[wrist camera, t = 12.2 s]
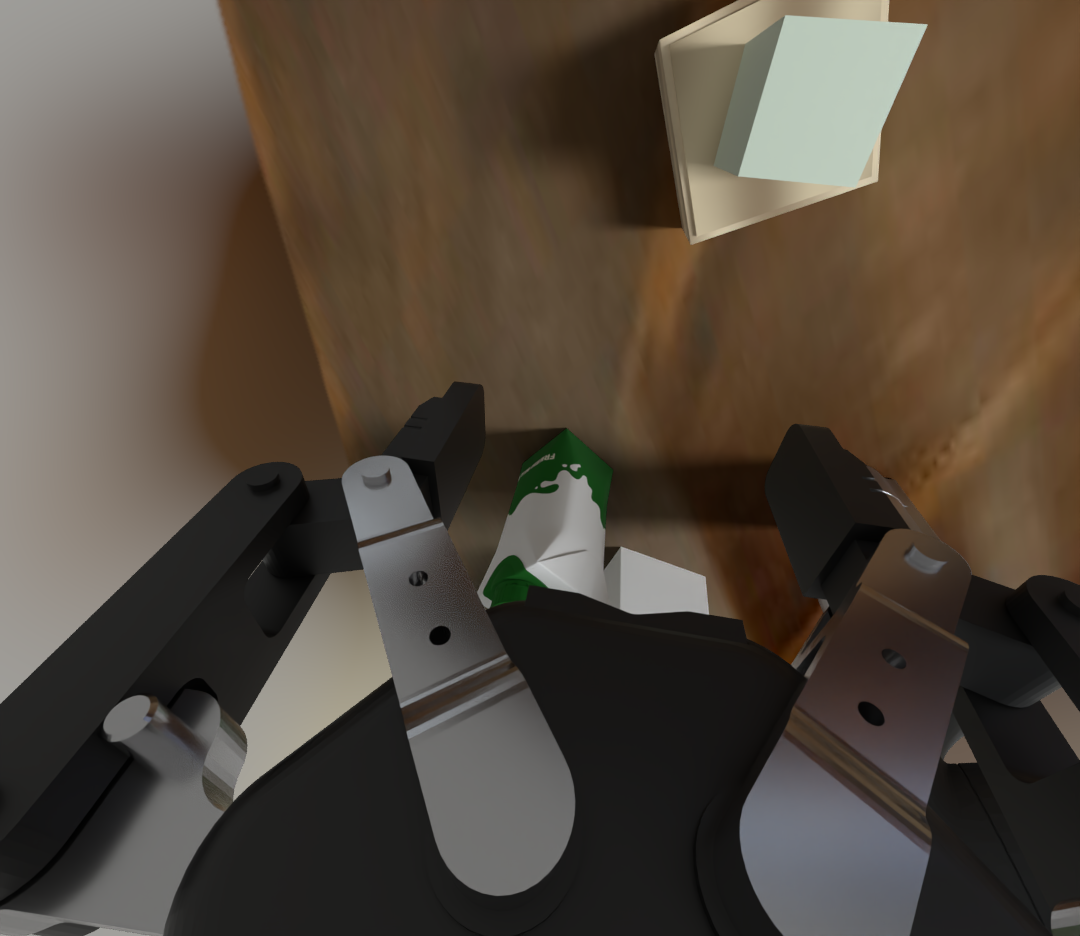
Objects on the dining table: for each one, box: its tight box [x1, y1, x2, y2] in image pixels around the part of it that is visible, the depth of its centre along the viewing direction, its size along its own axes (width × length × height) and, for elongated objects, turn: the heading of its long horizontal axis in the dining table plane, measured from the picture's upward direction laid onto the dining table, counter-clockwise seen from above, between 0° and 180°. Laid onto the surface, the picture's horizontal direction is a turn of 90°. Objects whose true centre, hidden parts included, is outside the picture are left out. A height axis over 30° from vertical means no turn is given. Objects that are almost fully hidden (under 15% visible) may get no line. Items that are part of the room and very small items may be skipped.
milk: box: [604, 547, 709, 615], centre depth 48 cm, size 12×12×26 cm
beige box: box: [654, 0, 889, 245], centre depth 25 cm, size 10×10×6 cm
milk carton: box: [477, 428, 613, 609], centre depth 40 cm, size 9×9×20 cm
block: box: [714, 15, 927, 188], centre depth 20 cm, size 5×5×7 cm
